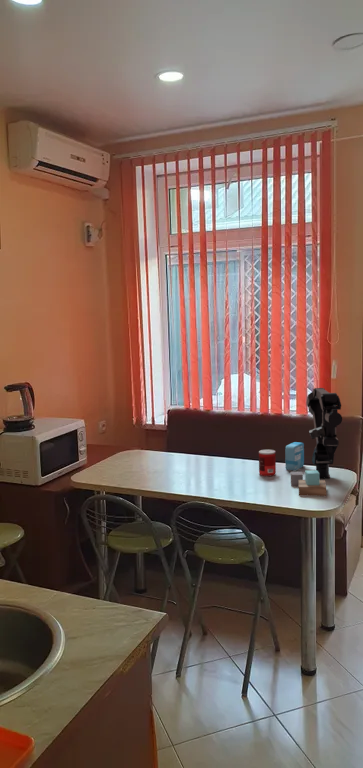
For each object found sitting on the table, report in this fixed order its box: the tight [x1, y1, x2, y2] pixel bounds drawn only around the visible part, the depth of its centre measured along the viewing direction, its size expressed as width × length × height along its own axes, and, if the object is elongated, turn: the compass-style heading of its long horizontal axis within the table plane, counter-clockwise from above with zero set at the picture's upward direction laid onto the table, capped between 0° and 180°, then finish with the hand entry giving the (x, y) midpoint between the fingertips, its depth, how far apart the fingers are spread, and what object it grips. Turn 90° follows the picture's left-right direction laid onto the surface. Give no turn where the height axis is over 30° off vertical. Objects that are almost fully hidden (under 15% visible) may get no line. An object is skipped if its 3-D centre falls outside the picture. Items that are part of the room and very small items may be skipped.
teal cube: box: [304, 469, 320, 485], centre depth 243 cm, size 5×5×5 cm
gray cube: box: [290, 471, 304, 487], centre depth 255 cm, size 5×5×5 cm
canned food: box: [258, 449, 277, 477], centre depth 273 cm, size 8×8×11 cm
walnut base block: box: [298, 479, 327, 497], centre depth 244 cm, size 11×11×4 cm
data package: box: [284, 441, 305, 472], centre depth 282 cm, size 12×4×12 cm, turn 145°
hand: (329, 457), depth 253 cm, fingers open, 9 cm apart
